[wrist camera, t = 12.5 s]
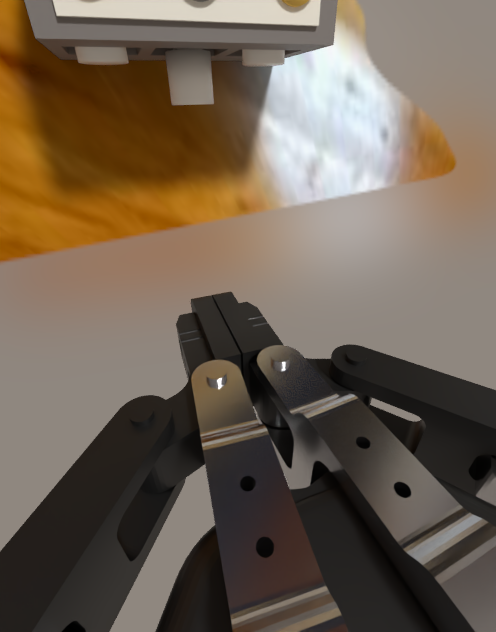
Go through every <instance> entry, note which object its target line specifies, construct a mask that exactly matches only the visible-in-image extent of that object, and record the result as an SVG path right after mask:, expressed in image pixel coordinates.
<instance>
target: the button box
mask: <svg viewBox="0 0 496 632" xmlns="http://www.w3.org/2000/svg"><path fill="white" fill-rule="evenodd" d="M337 1H338V0H24V2H25V5H26V8H27V12H28V15H29V19H30V22H31V25H32V29H33V32H34V35H35V38H36V39H37V40H38V41H39V42H40V43H42V44H43V45H44V46H45V47H46V48H48V49H49V50H50V51H51V52H52V53H54V54H55V55H56V56H57V57H58V58H60V59H61V60H78V59H77V55H76V51H75V47H126V51H127V56H128V60H166V57H165V52H166V51H170V50H173V48H187V49H203V50H207V51H210V54H211V61H243V57H242V49H248V50H285V57H284V58H287V57H291V56H294V55H298V54H302V53H305V52H309V51H313V50H316V49H320V48H324V47H327V46H331V45H333V42H334V32H335V22H336V11H337Z"/></svg>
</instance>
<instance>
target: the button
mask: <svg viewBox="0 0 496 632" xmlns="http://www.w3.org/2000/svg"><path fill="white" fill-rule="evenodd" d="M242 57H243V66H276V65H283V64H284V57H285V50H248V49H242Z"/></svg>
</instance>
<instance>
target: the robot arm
mask: <svg viewBox="0 0 496 632" xmlns="http://www.w3.org/2000/svg"><path fill="white" fill-rule="evenodd" d="M191 307H192V313H188V314H183V315H180V316H179V318H178V321H177V323H176V326H177V332H178V338H179V343H180V349H181V355H182V359H183V363H184V366H185V370H186V374H187V378H188V383H187V384H186V386H185V387H184V388H183V389H182V390H181V391H180V392H179V393H177V394H176V395H174V396H173V397H171V398H169V399H167V400H165V399H163V398H161V397H159V396H153V395H148V396H141V397H138V398H135V399H133V400H131V401H129V402H128V403H126V404H125V405H124V406H122V407H121V408H120V409H119V411H118V412H117V413H116V414H115V415H114V417H113V418H112V419H111V420H110V421H109V423H108V424H107V425H106V426H105V427H104V428H103V430H102V431H101V432H100V433H99V434H98V436H97V437H96V438H95V439H94V441H93V442H92V443H91V444H90V445H89V446H88V448H87V449H86V450H85V451H84V452H83V454H82V455H81V456H80V457H79V458H78V460H77V461H76V462H75V463H74V464H73V466H72V467H71V468H70V469H69V470H68V471H67V473H66V474H65V475H64V476H63V477H62V479H61V480H60V481H59V482H58V483H57V485H56V486H55V487H54V488H53V489H52V491H51V492H50V493H49V494H48V495H47V497H46V498H45V499H44V500H43V501H42V502H41V504H40V505H39V506H38V507H37V508H36V510H35V511H34V512H33V513H32V514H31V516H30V517H29V518H28V519H27V520H26V522H25V523H24V524H23V525H22V526H21V527H20V529H19V530H18V531H17V532H16V533H15V535H14V536H13V537H12V538H11V540H10V541H9V542H8V543H7V544H6V545H5V547H4V548H3V549H2V550H1V552H0V632H109V631H110V629H111V627H112V625H113V623H114V621H115V619H116V618H117V616H118V614H119V611H120V610H121V608H122V606H123V604H124V602H125V600H126V598H127V596H128V594H129V592H130V590H131V588H132V586H133V584H134V582H135V580H136V578H137V576H138V574H139V572H140V570H141V568H142V566H143V564H144V562H145V560H146V559H147V556H148V555H149V552H150V551H151V549H152V547H153V545H154V543H155V540H156V539H157V537H158V535H159V533H160V531H161V529H162V527H163V525H164V523H165V521H166V519H167V517H168V515H169V513H170V511H171V509H172V507H173V505H174V503H175V501H176V499H177V498H178V496H179V494H180V492H181V490H182V488H183V485H184V483H185V479H186V477H187V476H189V475H190V474H192V473H193V472H194V471H196V470H197V469H199V468H200V467H201V466H203V465H204V464H205V466H206V472H207V478H208V484H209V490H210V496H211V502H212V508H213V514H214V521H215V526H213V527H212V528H211V529H210V530H209V531H208V532H207V533H206V534H205V535H204V536H203V537H202V538H201V539H200V540H199V542H198V543H197V544H196V545H195V546H194V548H193V549H192V551H191V552H190V554H189V555H188V557H187V558H186V560H185V562H184V564H183V566H182V568H181V570H180V571H179V574H178V576H177V578H176V581H175V583H174V586H173V588H172V591H171V593H170V596H169V599H168V601H167V604H166V606H165V609H164V611H163V614H162V616H161V619H160V621H159V624H158V627H157V629H156V632H496V390H493V389H490V388H487V387H484V386H481V385H478V384H475V383H472V382H469V381H466V380H462V379H460V378H456V377H454V376H450V375H447V374H444V373H441V372H438V371H435V370H432V369H429V368H426V367H423V366H420V365H417V364H414V363H411V362H408V361H405V360H402V359H399V358H396V357H393V356H390V355H386V354H383V353H380V352H377V351H374V350H371V349H368V348H365V347H362V346H358V345H343V346H340V347H338V348H336V349H335V350H334V351H333V353H332V357H331V359H307V358H304V357H303V355H302V354H300V352H299V351H297V350H296V349H294V348H291V347H289V346H284V345H283V344H282V342H281V341H280V339H279V338H278V336H277V335H276V334H275V332H274V331H273V329H272V328H271V327H270V325H269V324H268V323H267V321H266V319H265V318H264V317H263V315H262V314H261V313H260V311H259V310H258V308H257V307H255V306H253V305H252V304H250V303H248V302H243V303H238V302H237V300H236V298H235V297H234V295H233V293H232V292H226V293H221V294H216V295H212V296H205V297H200V298H195V299H191ZM372 398H375V399H377V400H380V401H382V402H385V403H387V404H390V405H392V406H395V407H397V408H400V409H402V410H405V411H407V412H410V413H413V414H415V415H417V416H419V417H420V418H421V419H422V420H420V421H417V422H412V421H408V420H406V419H403V418H401V417H398V416H396V415H393V414H391V413H389V412H386V411H384V410H381V409H379V408H376V407H374V406H371V405H370V403H371V399H372ZM253 406H254V407H255V409H256V411H257V417H256V414H255V411H254V408H253ZM283 472H284V473H283ZM284 474H285V476H286V478H287V481H288V483H287V481H286V478H285V476H284ZM288 484H289V486H288ZM289 488H290V489H289Z"/></svg>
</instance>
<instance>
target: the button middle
mask: <svg viewBox="0 0 496 632" xmlns="http://www.w3.org/2000/svg"><path fill="white" fill-rule="evenodd" d="M165 57H166V65H167V72H168V80H169V88H170V96H171V103H172V105H200V104H214V98H213V84H212V69H211V54H210V51H207V50H203V49H187V48H173V50H170V51H166V52H165Z"/></svg>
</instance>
